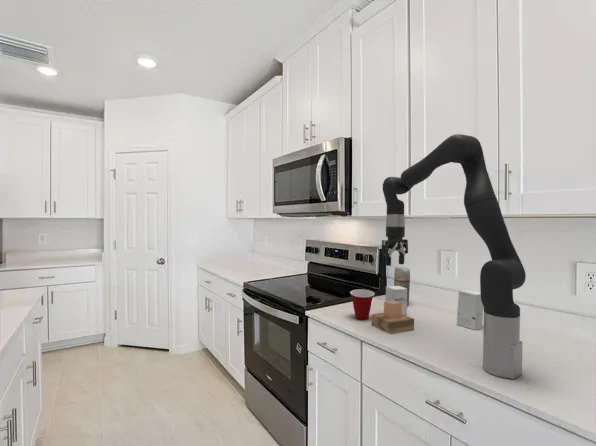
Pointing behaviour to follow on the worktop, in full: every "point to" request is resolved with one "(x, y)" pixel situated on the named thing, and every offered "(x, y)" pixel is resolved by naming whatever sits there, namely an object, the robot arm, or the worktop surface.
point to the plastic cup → (362, 303)
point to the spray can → (402, 279)
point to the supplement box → (397, 296)
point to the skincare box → (470, 309)
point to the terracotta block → (393, 309)
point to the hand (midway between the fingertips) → (395, 264)
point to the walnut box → (392, 323)
